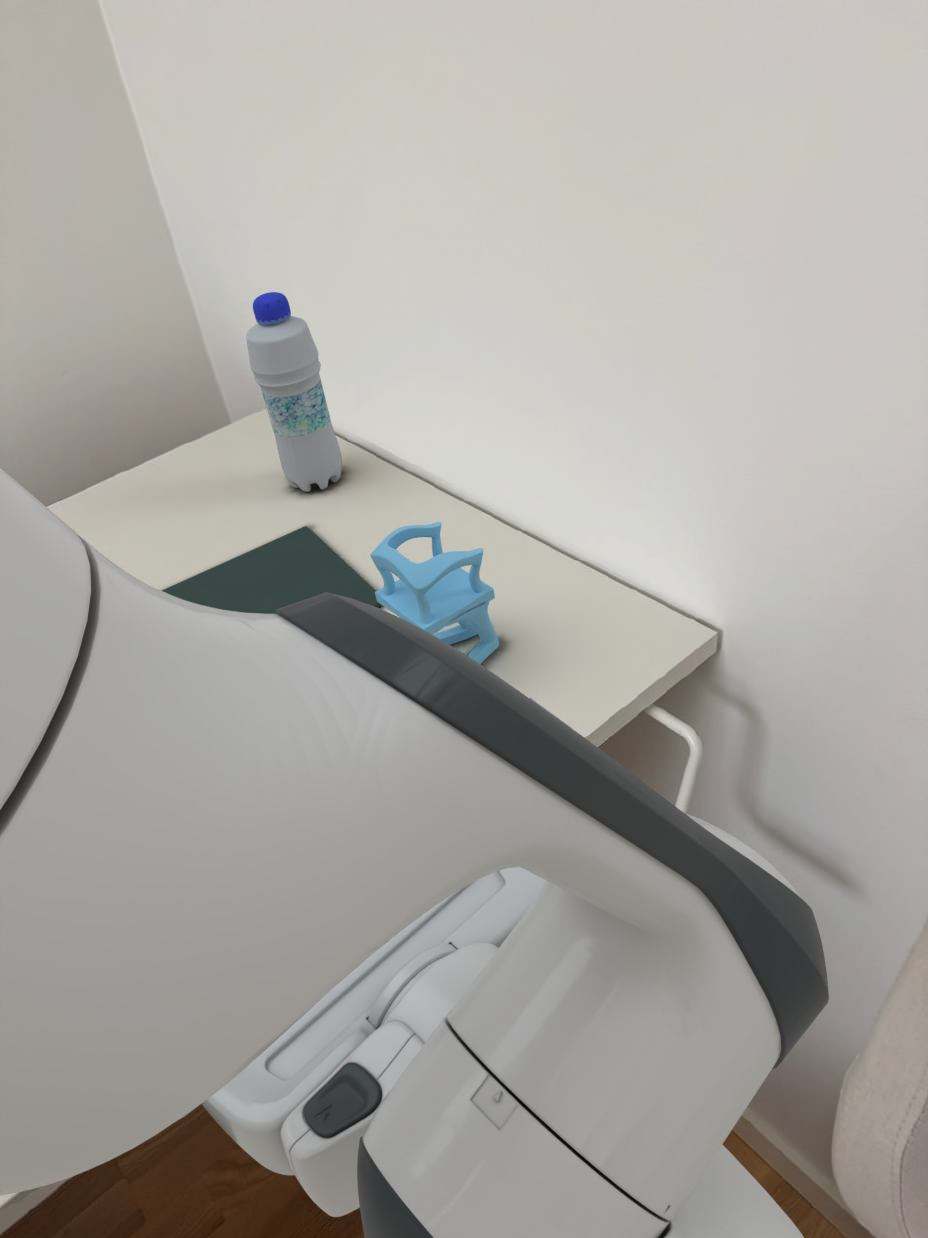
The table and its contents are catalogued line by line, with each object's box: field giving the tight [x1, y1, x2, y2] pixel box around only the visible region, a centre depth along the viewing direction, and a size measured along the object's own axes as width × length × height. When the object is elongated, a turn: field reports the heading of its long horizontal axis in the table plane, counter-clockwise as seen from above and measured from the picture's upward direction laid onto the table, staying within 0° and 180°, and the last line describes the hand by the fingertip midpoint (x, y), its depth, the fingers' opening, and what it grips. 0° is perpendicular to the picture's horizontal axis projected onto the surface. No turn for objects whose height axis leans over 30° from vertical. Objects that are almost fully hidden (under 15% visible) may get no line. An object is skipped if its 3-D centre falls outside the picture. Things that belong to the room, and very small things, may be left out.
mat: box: [161, 525, 384, 614], centre depth 85 cm, size 18×16×1 cm
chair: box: [370, 521, 500, 665], centre depth 72 cm, size 8×8×12 cm
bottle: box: [245, 291, 343, 493], centre depth 95 cm, size 7×7×20 cm
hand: (292, 878), depth 53 cm, fingers open, 8 cm apart
